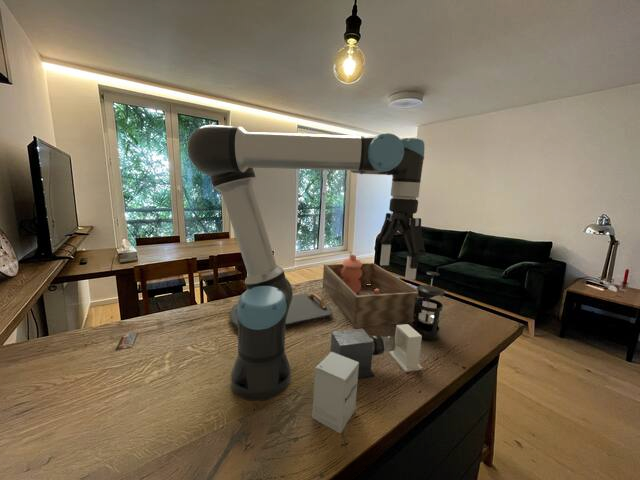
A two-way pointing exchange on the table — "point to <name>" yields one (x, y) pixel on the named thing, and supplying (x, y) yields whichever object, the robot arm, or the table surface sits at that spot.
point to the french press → (427, 319)
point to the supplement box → (335, 391)
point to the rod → (382, 344)
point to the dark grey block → (354, 349)
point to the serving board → (298, 309)
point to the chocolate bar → (127, 341)
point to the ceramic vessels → (353, 274)
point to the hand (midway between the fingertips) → (396, 271)
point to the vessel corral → (371, 296)
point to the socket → (407, 348)
